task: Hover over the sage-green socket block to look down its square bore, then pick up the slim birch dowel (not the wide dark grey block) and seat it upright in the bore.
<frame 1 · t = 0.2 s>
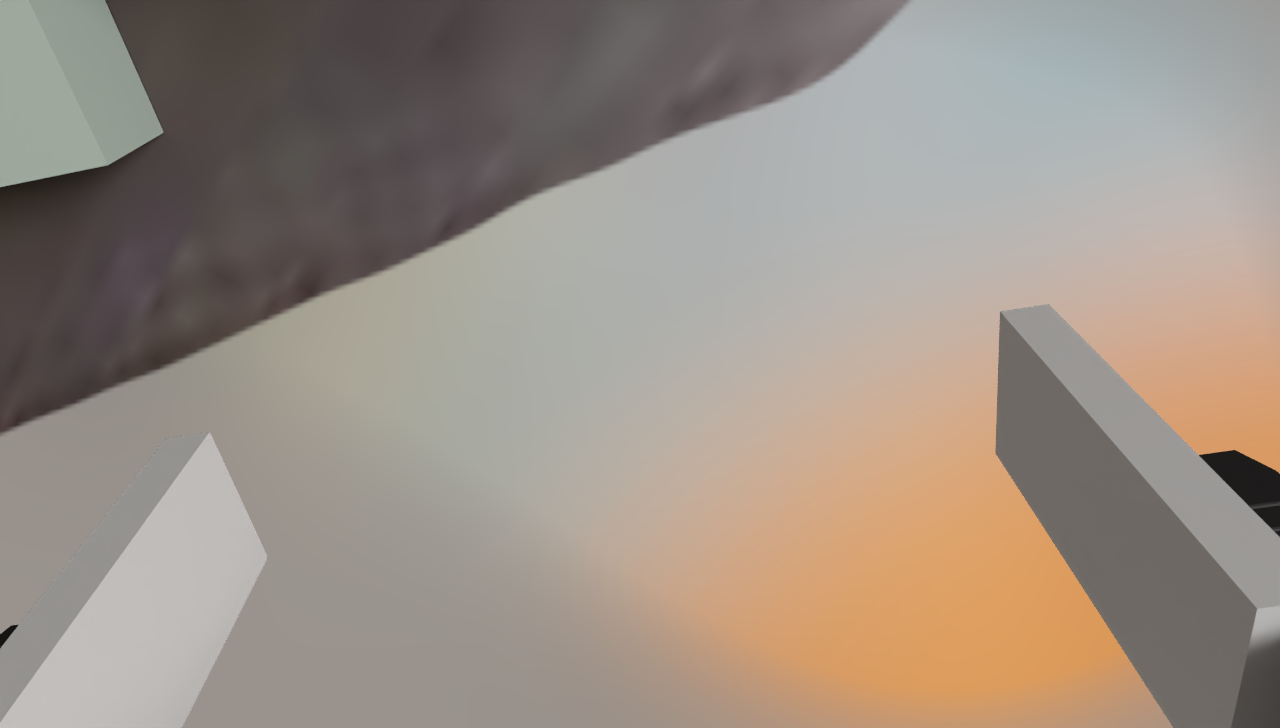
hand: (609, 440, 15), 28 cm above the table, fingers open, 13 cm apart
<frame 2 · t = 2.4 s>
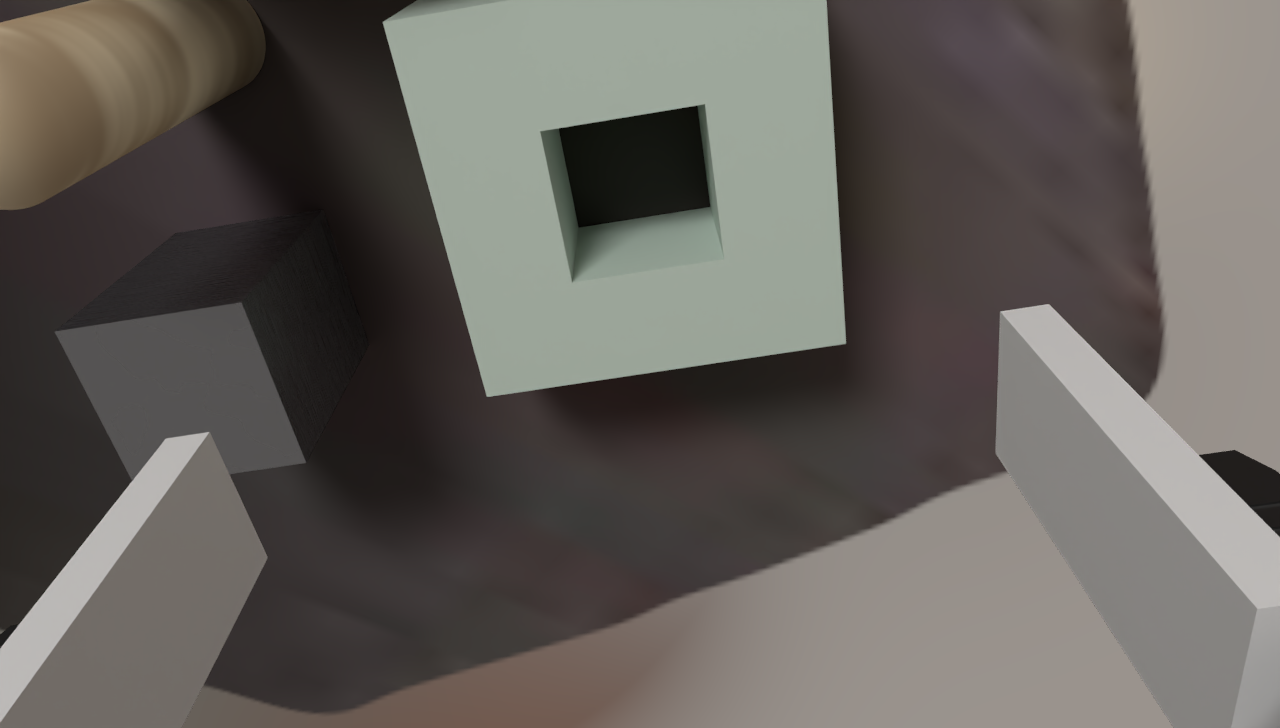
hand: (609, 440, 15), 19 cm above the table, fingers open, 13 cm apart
dark grey block: (275, 290, 34), on the table
birch dowel: (209, 36, 30), on the table
socket block: (633, 152, 32), on the table
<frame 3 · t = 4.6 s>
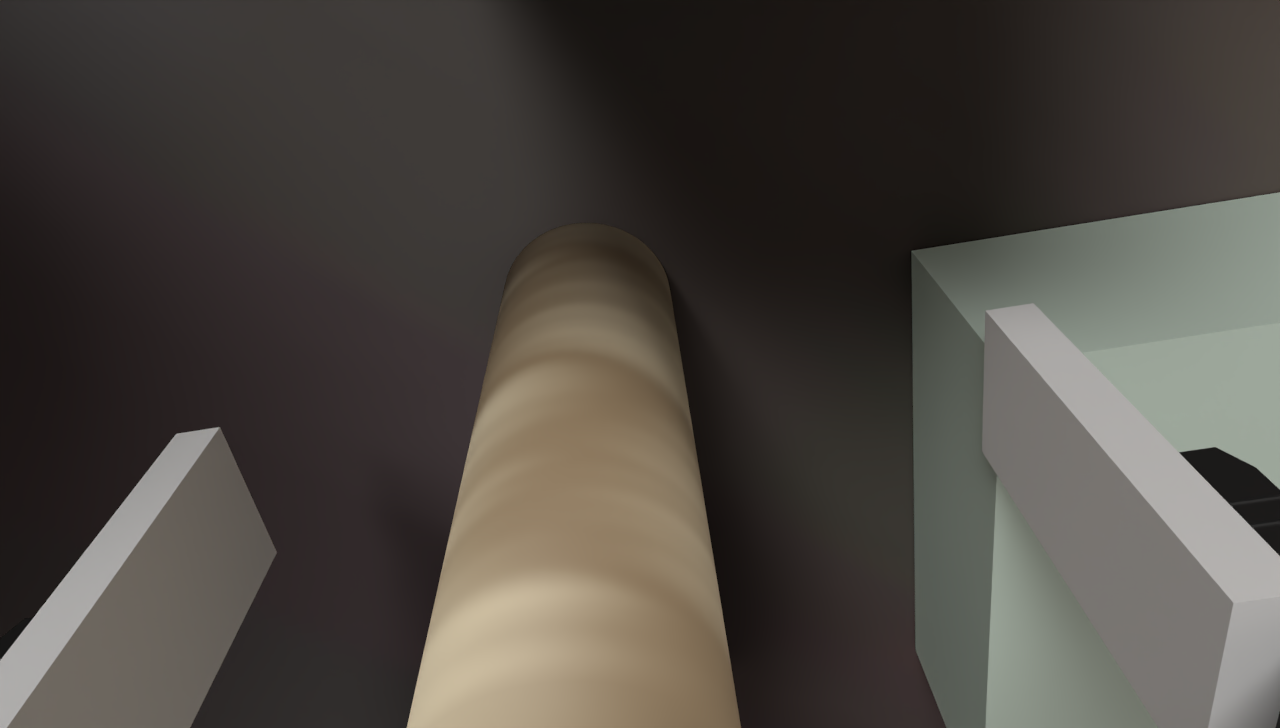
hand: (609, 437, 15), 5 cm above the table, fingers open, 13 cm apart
birch dowel: (587, 301, 20), on the table
socket block: (1161, 439, 22), on the table
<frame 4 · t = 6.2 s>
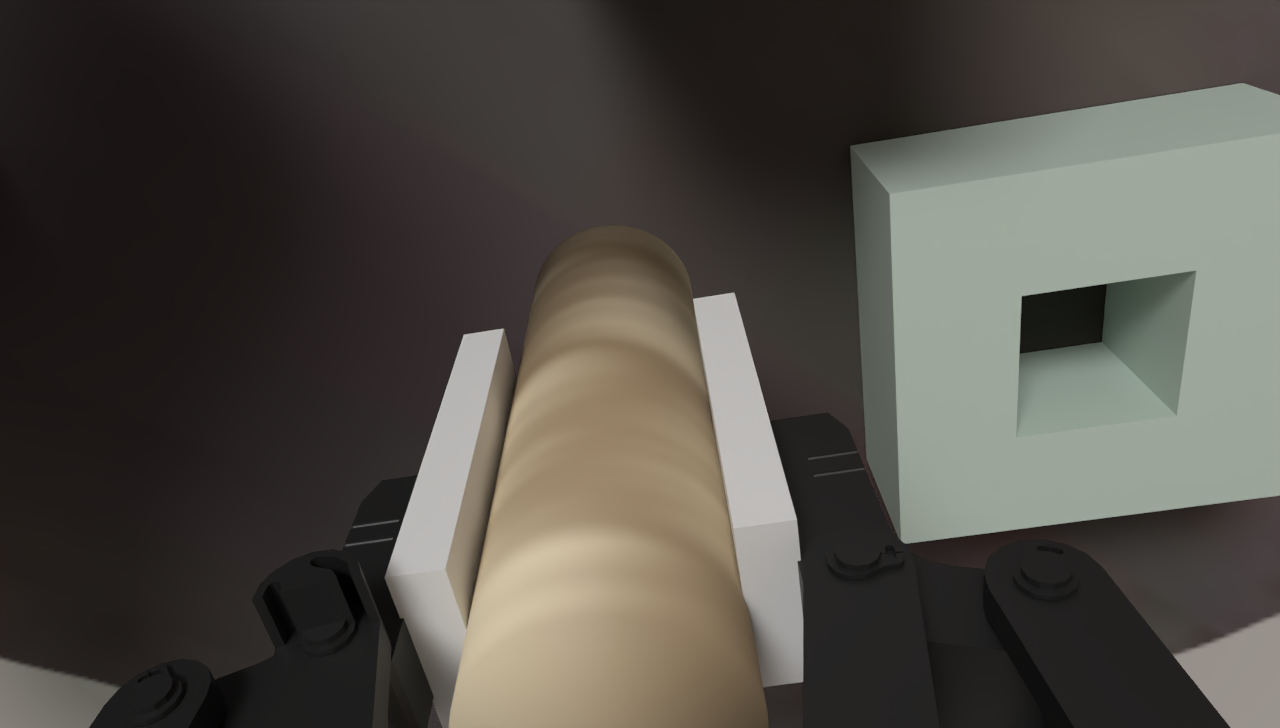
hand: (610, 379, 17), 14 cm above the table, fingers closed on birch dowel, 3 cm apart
birch dowel: (613, 299, 21), point 9 cm above the table, touching gripper
socket block: (1035, 290, 31), on the table
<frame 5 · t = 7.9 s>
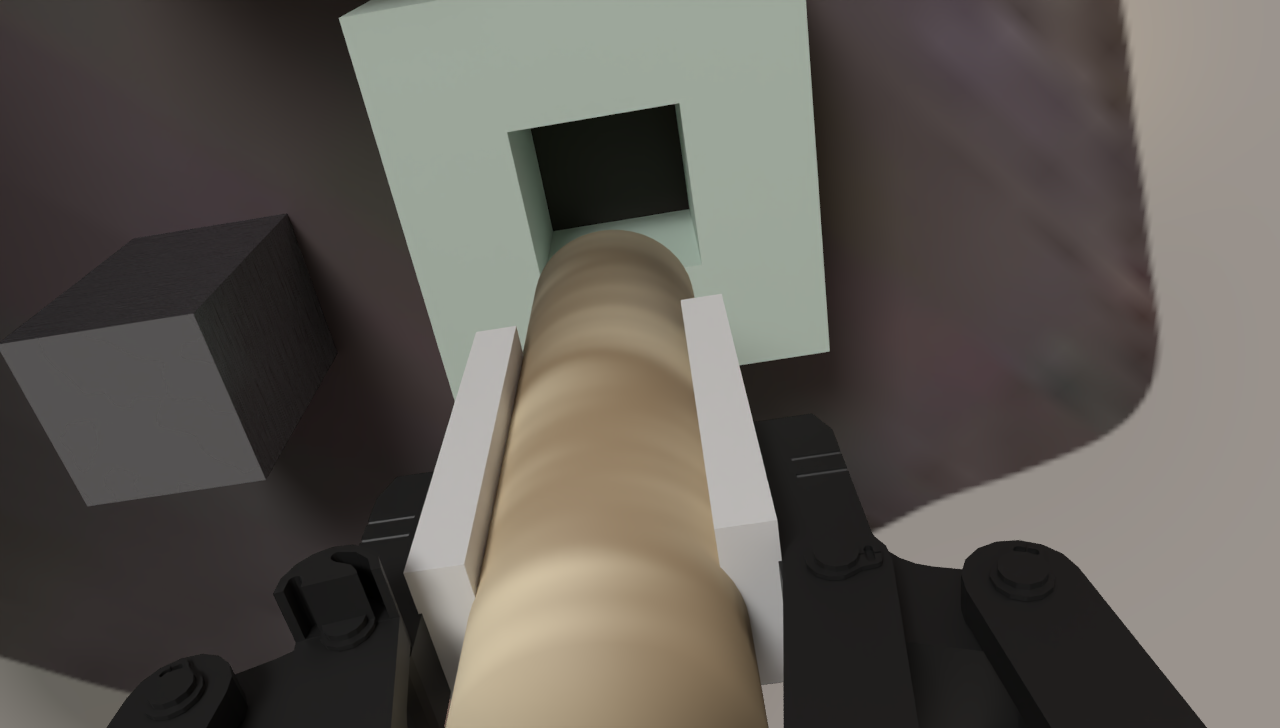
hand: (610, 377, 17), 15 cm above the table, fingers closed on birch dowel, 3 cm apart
dark grey block: (239, 297, 33), on the table
birch dowel: (614, 305, 21), point 11 cm above the table, touching gripper
socket block: (608, 152, 30), on the table
when the fingers open (6 cm above the table, at t = 9.6 s): birch dowel drops 3 cm, resting in socket block.
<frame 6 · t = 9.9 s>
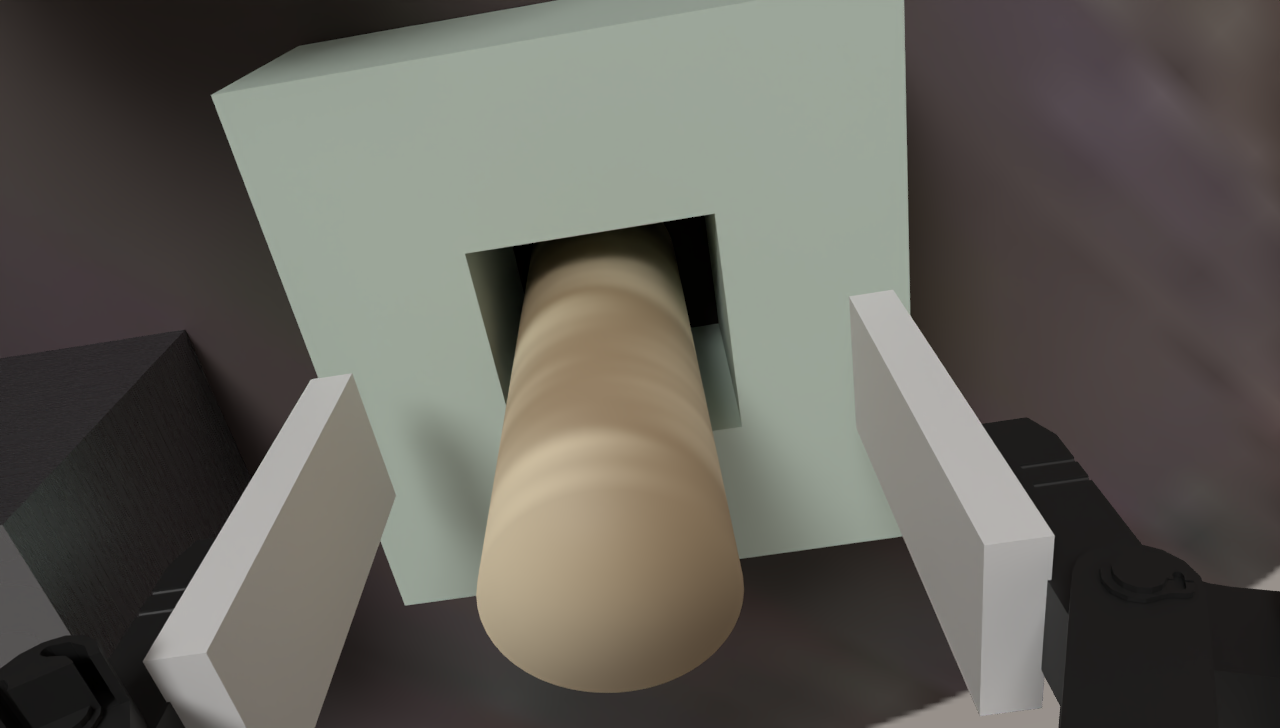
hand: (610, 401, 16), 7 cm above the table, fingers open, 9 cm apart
dark grey block: (128, 433, 25), on the table
birch dowel: (603, 262, 23), resting in socket block
socket block: (611, 252, 23), on the table
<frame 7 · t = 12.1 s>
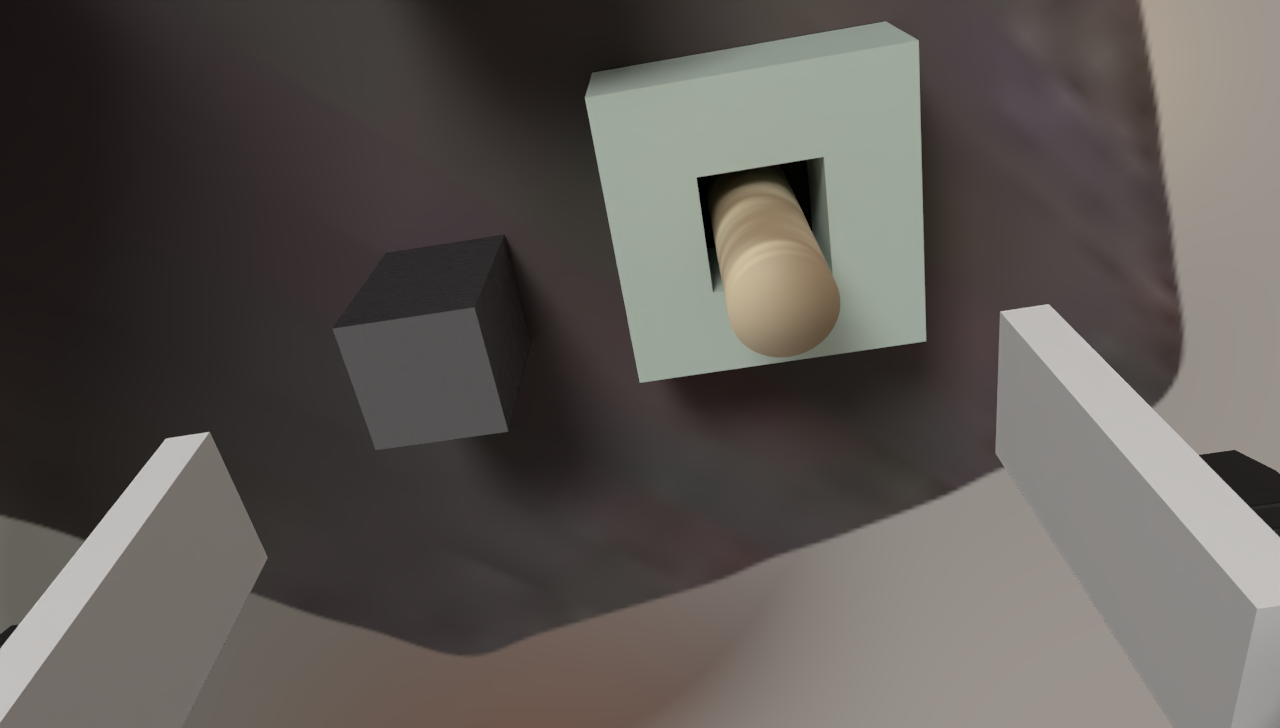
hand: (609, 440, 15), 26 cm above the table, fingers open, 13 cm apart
dark grey block: (460, 298, 42), on the table
birch dowel: (747, 194, 40), resting in socket block
socket block: (753, 189, 40), on the table
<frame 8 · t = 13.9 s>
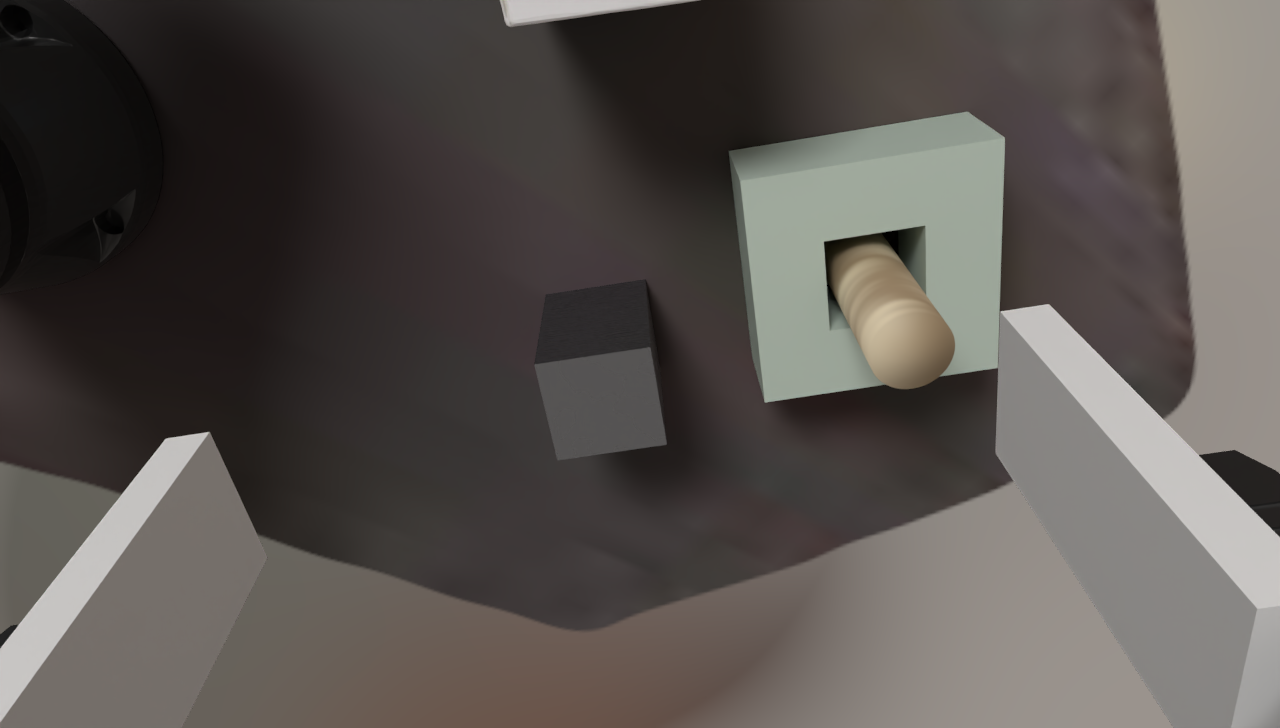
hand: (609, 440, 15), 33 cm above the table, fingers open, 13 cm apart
dark grey block: (604, 331, 51), on the table
birch dowel: (848, 246, 49), resting in socket block
socket block: (852, 242, 49), on the table
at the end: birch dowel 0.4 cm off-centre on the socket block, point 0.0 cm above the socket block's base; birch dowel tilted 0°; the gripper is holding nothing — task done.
